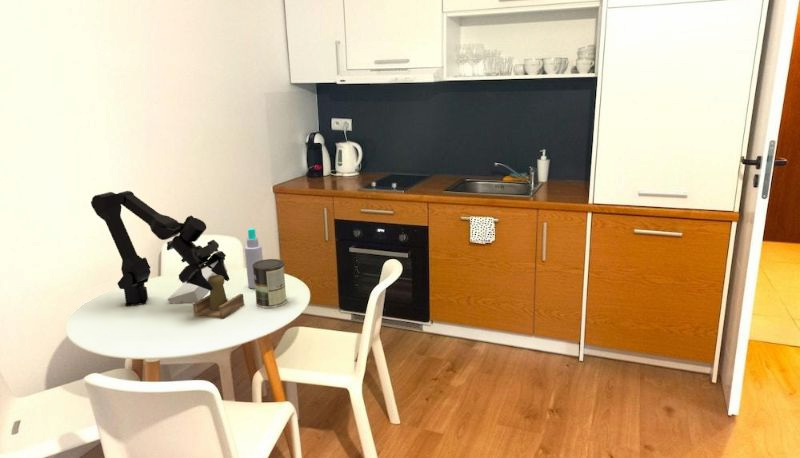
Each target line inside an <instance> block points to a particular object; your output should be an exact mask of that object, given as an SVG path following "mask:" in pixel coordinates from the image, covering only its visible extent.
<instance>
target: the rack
mask: <svg viewBox="0 0 800 458" xmlns="http://www.w3.org/2000/svg"><path fill="white" fill-rule="evenodd" d="M244 300H245V299H244V294H243V293H239V294H237V295H236V296H234V297H232V298H231V299H229V300H227V302H226V303H224V304H223V305H221V306H219V311H212V310H210V294H209V295H208V294H207V296H204V297H203V298H202V299H201V300H200V301H198V302H196V303H192V306H193V316H194V317H204V318H210V319H211V318H212V319H221V320H223V319H225V318H227V317H229V316H231V315H232V314H234V312H236V311H238V310H239V309H240V307H241V308H243V307H244V306H245V301H244ZM243 305H244V306H243Z"/></svg>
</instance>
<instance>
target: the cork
mask: <svg viewBox="0 0 800 458" xmlns="http://www.w3.org/2000/svg"><path fill="white" fill-rule="evenodd" d="M208 282H209V283H210V285H211V286H212V287H213V289H212V290H211V291H209V295H210V310H212V311H219V306H221V305H223V304H224V303H226V302H227V301H228V299H227V294H226V290H225V286H224V284H225V280H224V277H223V276H221V275H214V276H211V277H209V279H208Z"/></svg>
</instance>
